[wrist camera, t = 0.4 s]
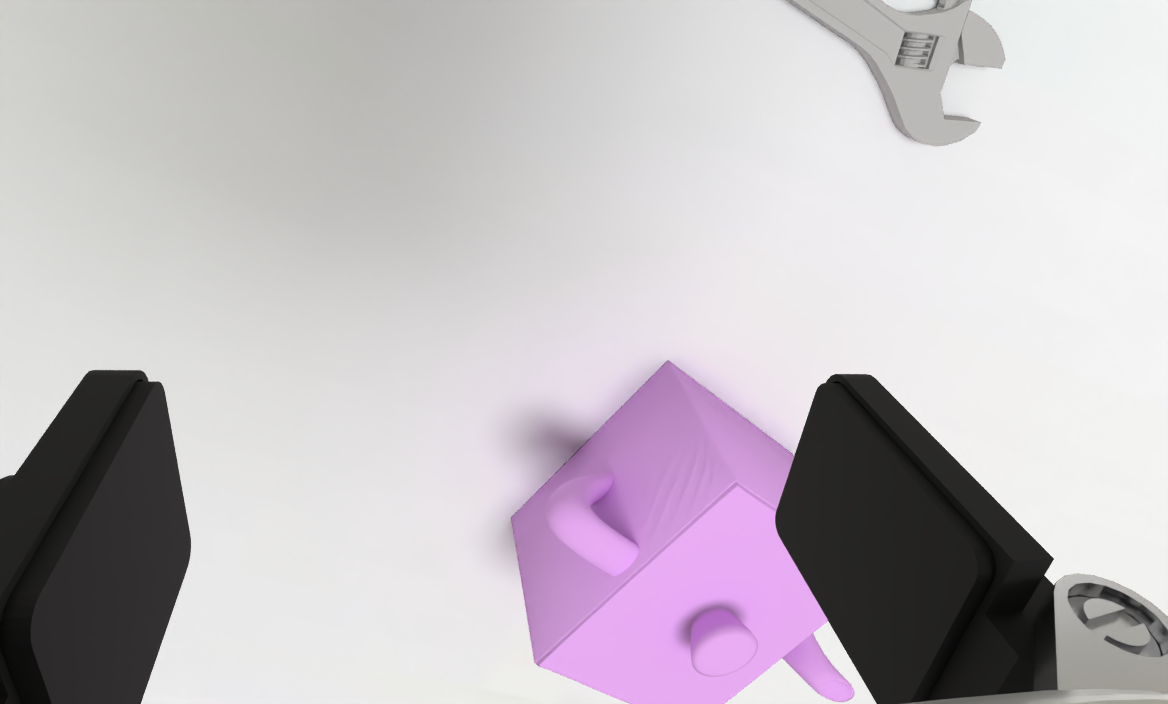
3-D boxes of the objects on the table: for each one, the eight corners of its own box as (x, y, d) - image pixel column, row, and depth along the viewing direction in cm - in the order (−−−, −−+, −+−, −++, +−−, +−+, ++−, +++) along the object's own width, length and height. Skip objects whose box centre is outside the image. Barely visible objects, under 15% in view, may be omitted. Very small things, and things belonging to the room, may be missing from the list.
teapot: (704, 618, 59) (776, 794, 47) (452, 485, 47) (465, 676, 36) (847, 495, 55) (966, 654, 43) (611, 317, 43) (685, 469, 32)
